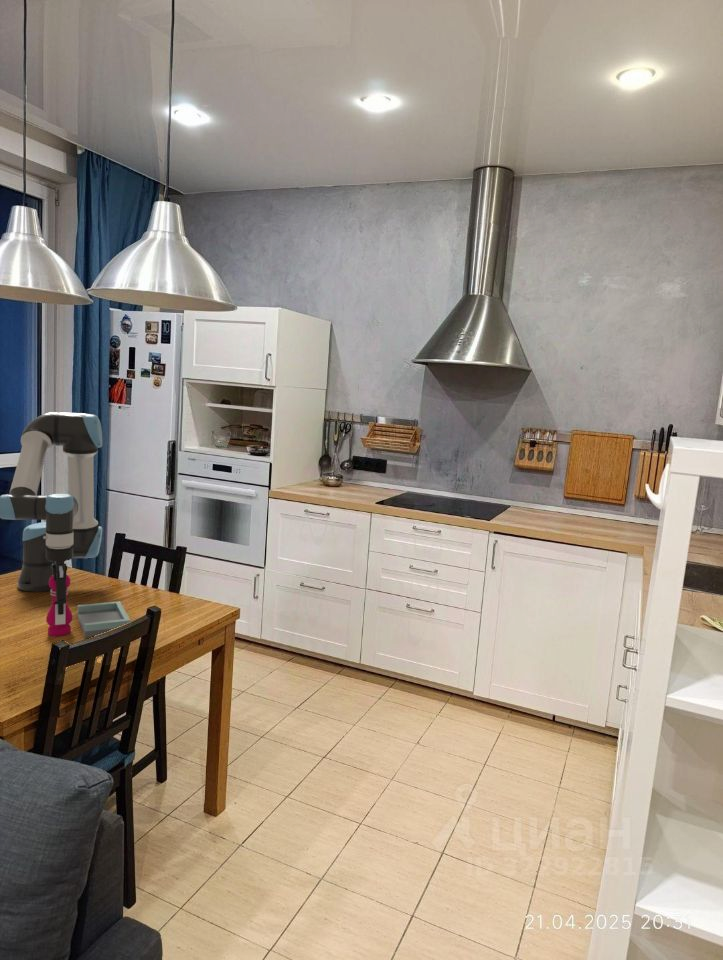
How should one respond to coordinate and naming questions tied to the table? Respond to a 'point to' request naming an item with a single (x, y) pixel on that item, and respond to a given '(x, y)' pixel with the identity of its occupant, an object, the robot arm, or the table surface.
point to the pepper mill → (50, 619)
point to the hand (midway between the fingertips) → (59, 619)
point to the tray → (101, 617)
